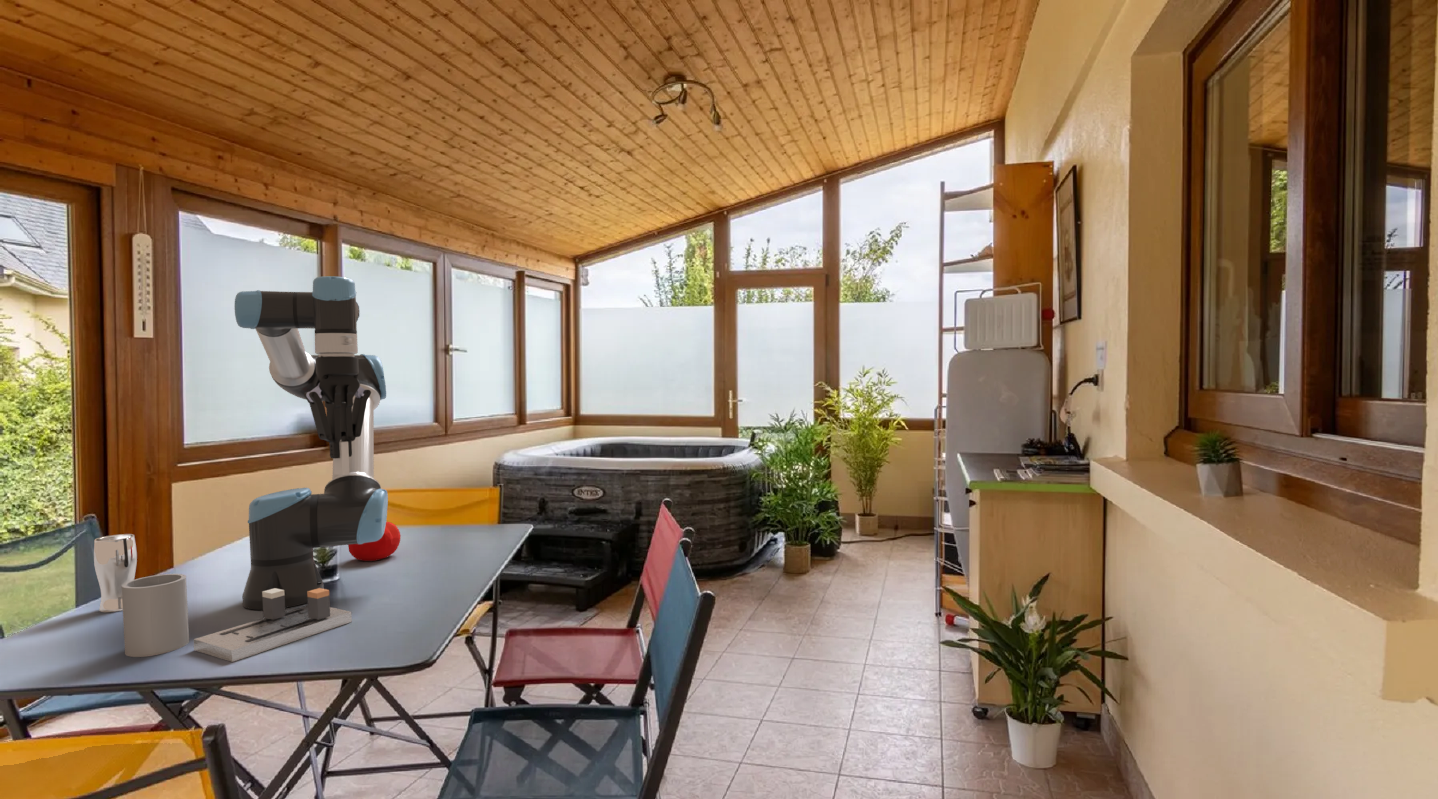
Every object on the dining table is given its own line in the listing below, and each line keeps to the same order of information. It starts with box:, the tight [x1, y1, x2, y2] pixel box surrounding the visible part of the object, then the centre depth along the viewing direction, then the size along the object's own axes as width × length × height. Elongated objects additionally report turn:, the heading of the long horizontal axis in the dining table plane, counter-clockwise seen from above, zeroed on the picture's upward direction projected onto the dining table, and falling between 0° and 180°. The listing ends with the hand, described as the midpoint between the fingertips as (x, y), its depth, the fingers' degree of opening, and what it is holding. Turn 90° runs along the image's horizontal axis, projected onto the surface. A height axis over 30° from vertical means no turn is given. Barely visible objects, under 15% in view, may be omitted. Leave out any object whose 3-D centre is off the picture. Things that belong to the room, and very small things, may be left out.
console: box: [193, 604, 353, 663], centre depth 137 cm, size 12×22×2 cm, turn 151°
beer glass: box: [93, 533, 138, 613], centre depth 155 cm, size 7×7×15 cm
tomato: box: [347, 519, 402, 562], centre depth 194 cm, size 11×13×10 cm
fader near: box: [307, 588, 331, 620], centre depth 140 cm, size 3×2×5 cm
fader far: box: [262, 588, 286, 620], centre depth 141 cm, size 3×2×5 cm
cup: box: [122, 573, 190, 658], centre depth 132 cm, size 9×9×12 cm
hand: (341, 474), depth 147 cm, fingers closed
